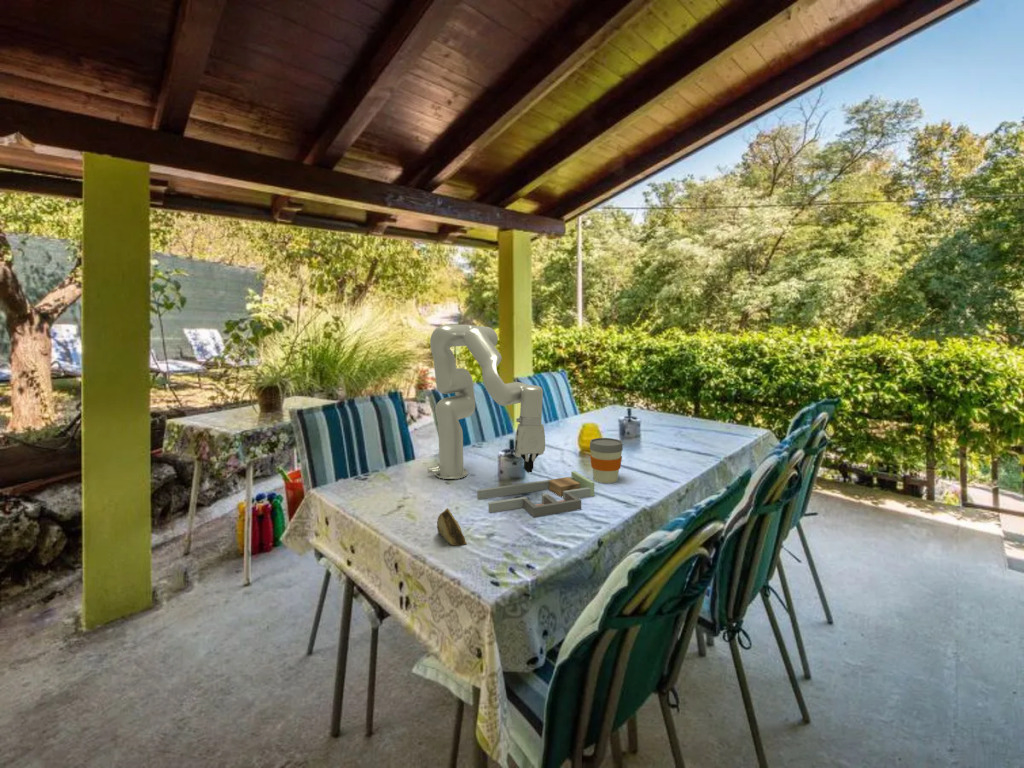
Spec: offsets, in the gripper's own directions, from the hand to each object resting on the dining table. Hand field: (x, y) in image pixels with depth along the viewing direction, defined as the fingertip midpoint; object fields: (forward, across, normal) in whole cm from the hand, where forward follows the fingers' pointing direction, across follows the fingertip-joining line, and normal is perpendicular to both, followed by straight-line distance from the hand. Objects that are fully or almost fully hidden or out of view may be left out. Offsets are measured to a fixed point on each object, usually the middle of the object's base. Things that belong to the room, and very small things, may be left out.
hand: (528, 471), depth 168 cm
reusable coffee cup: (+8, +34, +2) cm, 35 cm away
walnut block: (+8, +13, -4) cm, 16 cm away
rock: (+8, -34, -25) cm, 43 cm away
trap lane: (+8, +1, -9) cm, 12 cm away
